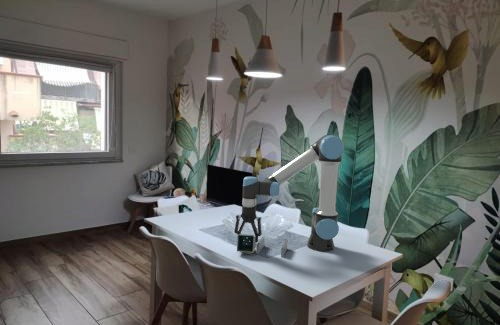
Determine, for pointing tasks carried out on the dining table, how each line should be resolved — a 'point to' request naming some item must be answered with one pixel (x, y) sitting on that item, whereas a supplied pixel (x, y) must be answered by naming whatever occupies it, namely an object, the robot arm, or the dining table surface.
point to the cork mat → (249, 252)
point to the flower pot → (242, 241)
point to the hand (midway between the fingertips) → (247, 246)
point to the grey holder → (261, 245)
